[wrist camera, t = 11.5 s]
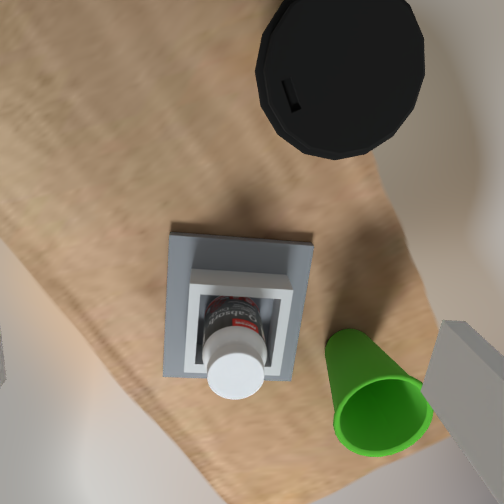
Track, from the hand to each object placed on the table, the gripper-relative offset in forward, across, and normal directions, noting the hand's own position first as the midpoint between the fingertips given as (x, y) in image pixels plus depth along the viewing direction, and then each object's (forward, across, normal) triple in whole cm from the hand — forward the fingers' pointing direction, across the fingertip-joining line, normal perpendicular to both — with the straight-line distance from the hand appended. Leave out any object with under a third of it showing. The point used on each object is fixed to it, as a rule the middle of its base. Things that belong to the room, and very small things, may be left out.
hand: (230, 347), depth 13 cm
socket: (+28, +3, -14) cm, 32 cm away
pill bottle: (+27, +3, -14) cm, 31 cm away
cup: (+28, +16, -18) cm, 37 cm away
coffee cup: (+29, +7, +9) cm, 31 cm away
